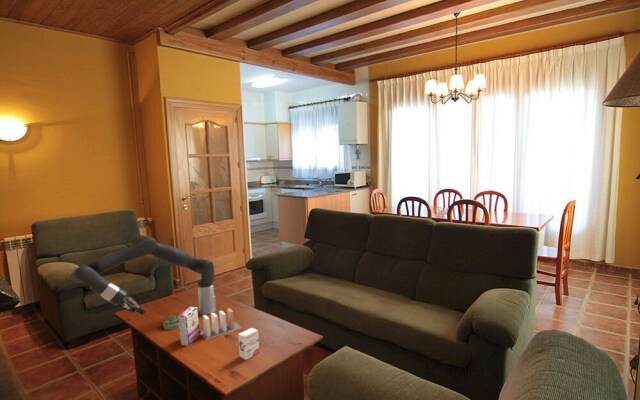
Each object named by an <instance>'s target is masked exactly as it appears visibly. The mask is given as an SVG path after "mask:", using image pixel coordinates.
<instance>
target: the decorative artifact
mask: <svg viewBox="0 0 640 400" xmlns="http://www.w3.org/2000/svg"><path fill="white" fill-rule="evenodd" d="M178 328H179V320H178V315H174V314H171V315H170V316H168V318H167V319H166V320H165V321H163V329H164V330H166V331H167V330H175V329H178Z"/></svg>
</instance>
